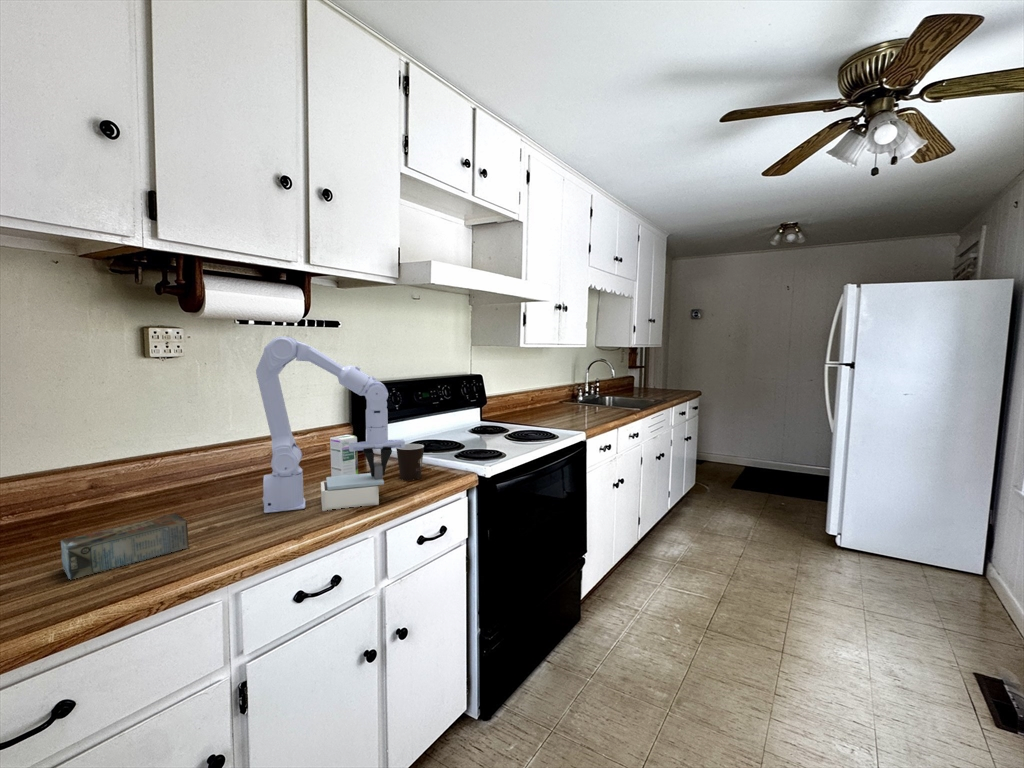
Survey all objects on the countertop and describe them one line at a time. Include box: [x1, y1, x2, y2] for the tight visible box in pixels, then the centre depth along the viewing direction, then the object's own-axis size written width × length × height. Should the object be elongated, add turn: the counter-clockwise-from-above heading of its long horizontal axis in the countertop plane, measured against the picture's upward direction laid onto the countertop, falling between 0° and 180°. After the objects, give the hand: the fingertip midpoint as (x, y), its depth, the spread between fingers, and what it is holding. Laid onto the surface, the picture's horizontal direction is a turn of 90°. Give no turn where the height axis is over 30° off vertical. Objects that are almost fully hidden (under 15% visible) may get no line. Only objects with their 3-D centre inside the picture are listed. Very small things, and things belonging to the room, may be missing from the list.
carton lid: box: [325, 461, 385, 490], centre depth 131 cm, size 14×10×4 cm
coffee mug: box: [395, 443, 425, 481], centre depth 157 cm, size 12×9×10 cm
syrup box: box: [329, 434, 359, 477], centre depth 148 cm, size 6×6×14 cm
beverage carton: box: [60, 512, 190, 581], centre depth 97 cm, size 8×19×7 cm, turn 140°
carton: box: [320, 480, 380, 512], centre depth 131 cm, size 14×10×5 cm
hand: (377, 475), depth 134 cm, fingers closed on carton lid, 2 cm apart
